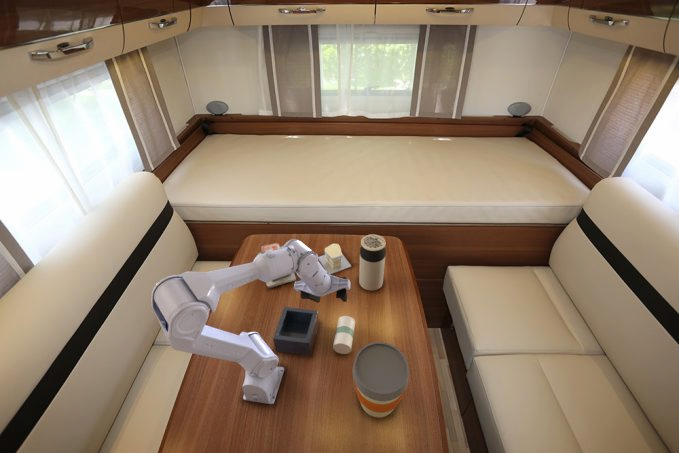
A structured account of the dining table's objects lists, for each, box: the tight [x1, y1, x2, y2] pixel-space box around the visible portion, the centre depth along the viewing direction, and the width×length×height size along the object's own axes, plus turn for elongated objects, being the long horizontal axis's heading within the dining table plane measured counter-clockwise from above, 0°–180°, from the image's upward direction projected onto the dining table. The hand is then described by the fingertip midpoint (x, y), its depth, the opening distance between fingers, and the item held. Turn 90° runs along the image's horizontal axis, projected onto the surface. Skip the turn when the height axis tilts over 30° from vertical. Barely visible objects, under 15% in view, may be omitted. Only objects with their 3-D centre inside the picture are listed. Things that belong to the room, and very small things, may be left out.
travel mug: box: [358, 233, 387, 292], centre depth 107 cm, size 8×8×18 cm
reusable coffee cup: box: [352, 341, 410, 418], centre depth 77 cm, size 13×13×15 cm
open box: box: [272, 306, 320, 357], centre depth 94 cm, size 11×10×6 cm
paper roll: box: [332, 315, 356, 355], centre depth 94 cm, size 9×5×5 cm, turn 171°
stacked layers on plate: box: [318, 243, 352, 275], centre depth 119 cm, size 10×9×6 cm
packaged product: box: [256, 242, 297, 289], centre depth 117 cm, size 18×5×10 cm
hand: (332, 298), depth 90 cm, fingers open, 7 cm apart
